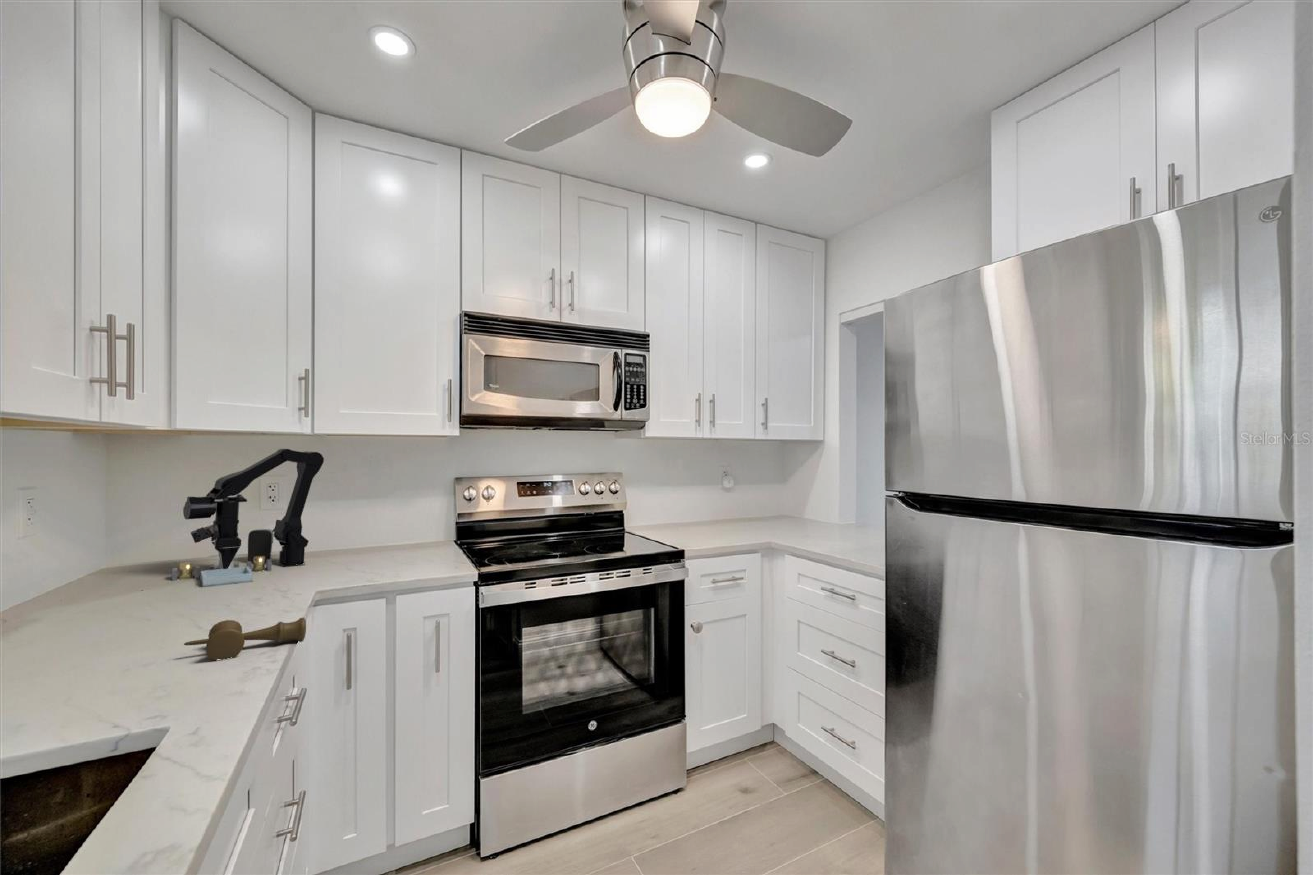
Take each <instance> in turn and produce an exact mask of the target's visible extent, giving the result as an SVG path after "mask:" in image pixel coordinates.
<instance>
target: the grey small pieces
mask: <svg viewBox="0 0 1313 875" xmlns="http://www.w3.org/2000/svg"><path fill="white" fill-rule="evenodd" d="M272 565H273V562H272V559H271V560H270V559H267V560H266V562H265V570H266V569H267V570H266V571H267V572H269V571H270V570H271V571H272ZM247 566H249V568H250V569H251V571H252V572H253V563H252V562H251V561H246V565H245V567H247ZM237 567H240V563H239V562H238V561H236V562H233V568H237ZM208 570H215V566H214V564H208ZM171 571H172V572H171V573H172V575H171V580H172V581H177V579H178V568H177V567H173V568H172V570H171ZM200 576H201V566H200V565H195V566H194V579H199V578H200Z"/></svg>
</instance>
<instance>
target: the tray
mask: <svg viewBox="0 0 1313 875" xmlns="http://www.w3.org/2000/svg"><path fill="white" fill-rule="evenodd" d="M252 582H254V572H253V570H252V571H251V569H250V568H249V566H247V567H246V566H239V567H237V568H234V567H232V568H228V569H216V568H215V569H214V570H209V569H206V570H200V583H201V586H202V588H208V586H209V587H216V586H225V585H233V584H234V585H235V584H243V583H244V584H245V583H252Z"/></svg>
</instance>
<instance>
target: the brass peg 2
mask: <svg viewBox="0 0 1313 875" xmlns="http://www.w3.org/2000/svg"><path fill="white" fill-rule="evenodd" d="M263 570H264V571H265V570H266V562H265V556H256V557H254V563H252V572H253V571H254V572H253V573H257V572H259V571H260V572H264V571H263Z"/></svg>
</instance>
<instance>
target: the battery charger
mask: <svg viewBox="0 0 1313 875" xmlns="http://www.w3.org/2000/svg"><path fill="white" fill-rule="evenodd" d="M273 544H274V532H273V529H269V528H266V529H265V528H259V529H258V528H257V529H253V530H250V531H249V533H248V536H247V559H246V560H247V561H251V562H252V564H253V563H254V557H256V556H265V563H266V560H267V559H270V560H271V561H272V551H273V550H272V549H273ZM247 561H246V562H247Z"/></svg>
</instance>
